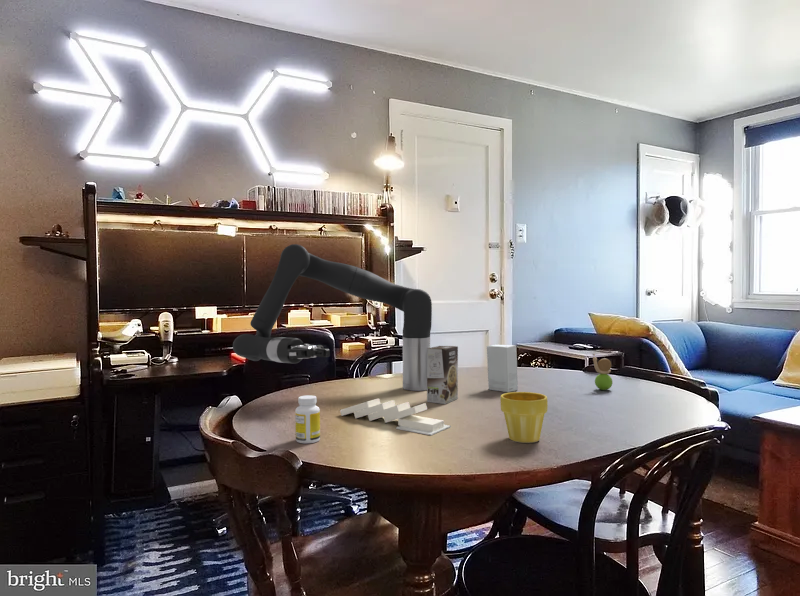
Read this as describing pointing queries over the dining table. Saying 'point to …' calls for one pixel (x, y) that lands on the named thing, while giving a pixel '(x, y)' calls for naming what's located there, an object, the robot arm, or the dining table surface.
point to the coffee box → (442, 374)
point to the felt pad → (422, 430)
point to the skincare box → (502, 368)
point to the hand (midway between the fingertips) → (328, 353)
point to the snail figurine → (603, 373)
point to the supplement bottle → (307, 420)
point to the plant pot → (524, 415)
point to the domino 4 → (405, 412)
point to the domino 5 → (421, 423)
